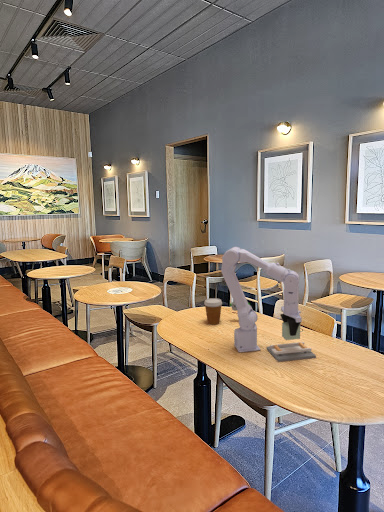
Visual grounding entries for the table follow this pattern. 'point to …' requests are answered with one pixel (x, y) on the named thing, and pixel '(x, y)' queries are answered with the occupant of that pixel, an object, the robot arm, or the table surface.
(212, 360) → the table surface
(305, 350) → the rail board
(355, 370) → the table surface
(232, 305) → the mechanical component
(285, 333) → the block
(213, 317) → the disposable coffee cup
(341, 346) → the table surface
